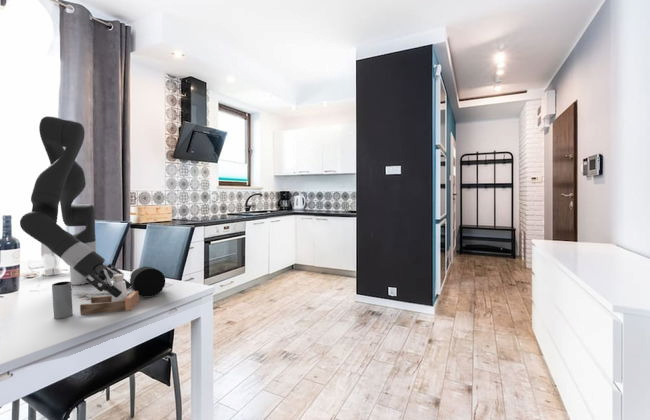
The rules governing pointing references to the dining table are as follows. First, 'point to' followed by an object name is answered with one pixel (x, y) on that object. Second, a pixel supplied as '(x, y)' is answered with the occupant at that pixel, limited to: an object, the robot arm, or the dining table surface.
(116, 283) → the pepper shaker
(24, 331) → the dining table surface
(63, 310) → the planter
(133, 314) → the dining table surface
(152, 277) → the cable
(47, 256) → the beer glass
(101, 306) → the guide channel
